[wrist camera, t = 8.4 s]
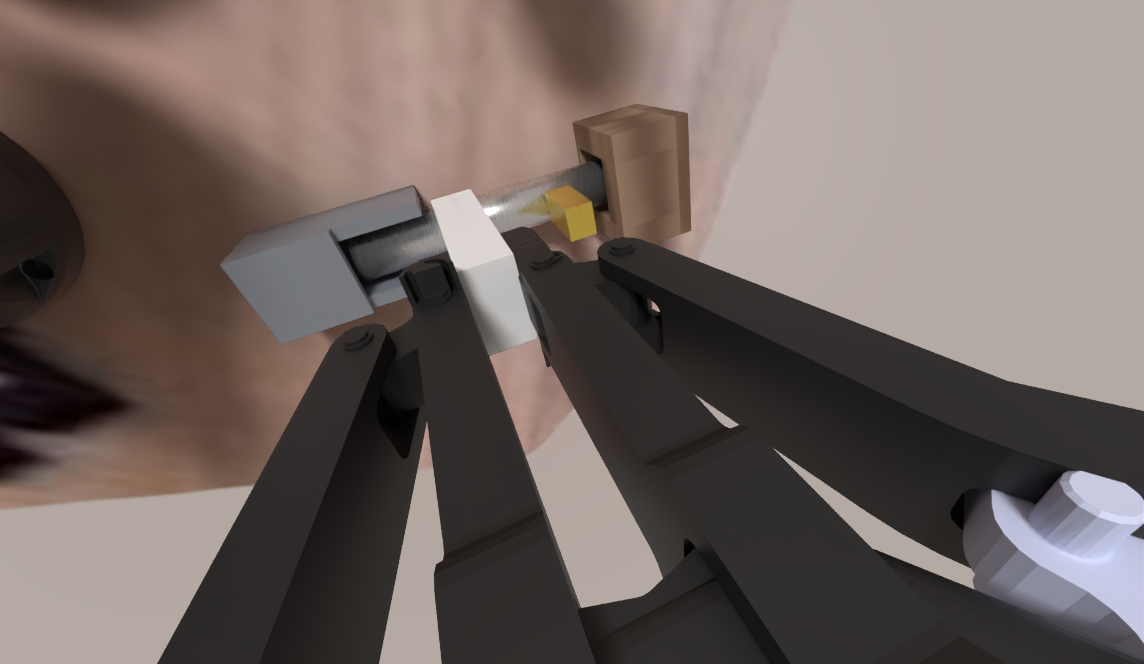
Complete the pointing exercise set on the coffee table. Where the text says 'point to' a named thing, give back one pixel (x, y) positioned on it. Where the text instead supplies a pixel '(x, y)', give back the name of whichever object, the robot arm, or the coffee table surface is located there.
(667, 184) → the socket
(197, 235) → the coffee table surface
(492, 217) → the tube
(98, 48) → the coffee table surface
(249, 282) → the sleeve
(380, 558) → the robot arm
